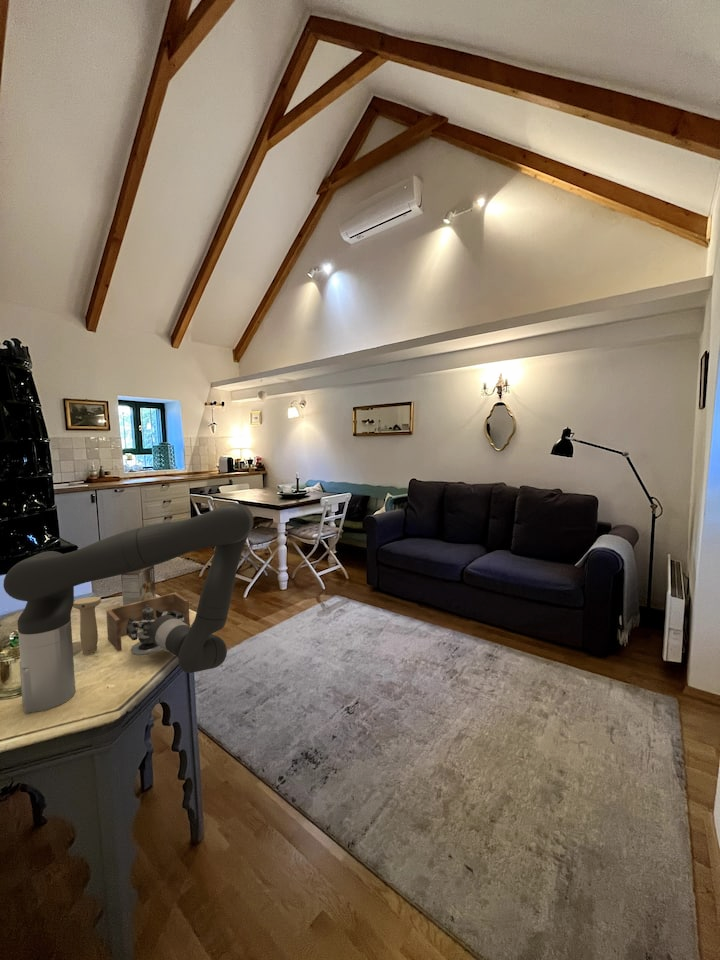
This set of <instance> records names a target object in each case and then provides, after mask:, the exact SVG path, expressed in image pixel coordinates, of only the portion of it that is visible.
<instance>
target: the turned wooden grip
mask: <svg viewBox="0 0 720 960" xmlns="http://www.w3.org/2000/svg"><path fill="white" fill-rule="evenodd" d="M101 603H102V598H101V596H90V597H89V596H87V597H82V598H78V599H77V598H76V599H74V603H73V607H72V609H73V608H74V609H76V610H79V613H80V614H79V615H80V616H79V617H80V619H79V620H80V621H79V622H80V623H79V625H80V627H79V636H80V637H79V638H80V643H81V644H80V645H81V648H82V650H81V651H82V654H83V655H86V656H89V655H92V654H95V653H96V652H97V651H98V641H99V635H98V634H99V633H98V625H97V618H96V607H98V606H99V605H100V604H101Z"/></svg>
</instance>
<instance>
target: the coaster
mask: <svg viewBox="0 0 720 960" xmlns="http://www.w3.org/2000/svg"><path fill="white" fill-rule="evenodd" d="M141 644H142V643H141V642H140V641H138V642H136V643H135V644H133V645H132V646H131V648H130V653H131V654H133V655H136V656H144V655H151V654H154V653H157V652H159V651H160V650H163V649H162V648H161V647H159V646H157V647H156V648H153V649H150V650H140V649H139V646H140V645H141Z"/></svg>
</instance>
